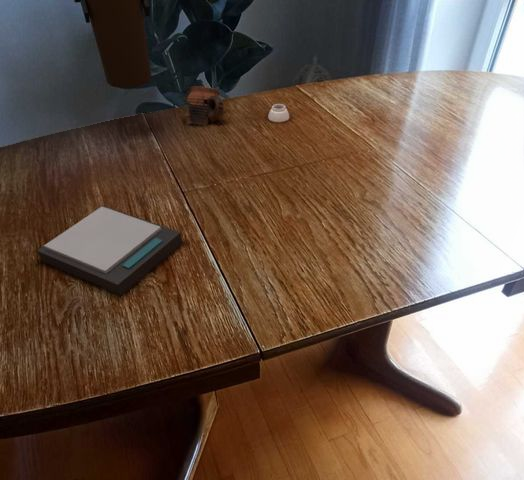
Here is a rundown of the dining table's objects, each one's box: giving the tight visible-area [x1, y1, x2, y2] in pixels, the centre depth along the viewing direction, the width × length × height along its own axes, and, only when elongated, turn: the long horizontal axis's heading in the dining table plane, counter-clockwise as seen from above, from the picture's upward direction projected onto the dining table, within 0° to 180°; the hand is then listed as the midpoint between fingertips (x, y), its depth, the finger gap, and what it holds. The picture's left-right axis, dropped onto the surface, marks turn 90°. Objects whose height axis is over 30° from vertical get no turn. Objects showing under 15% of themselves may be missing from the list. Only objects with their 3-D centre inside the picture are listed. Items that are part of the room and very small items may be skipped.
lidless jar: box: [267, 103, 290, 123], centre depth 109 cm, size 5×3×5 cm
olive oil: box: [85, 0, 153, 89], centre depth 89 cm, size 11×11×25 cm
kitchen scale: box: [36, 205, 184, 297], centre depth 75 cm, size 17×15×3 cm
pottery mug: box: [183, 85, 224, 127], centre depth 109 cm, size 12×10×8 cm
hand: (117, 14), depth 87 cm, fingers closed on olive oil, 11 cm apart
